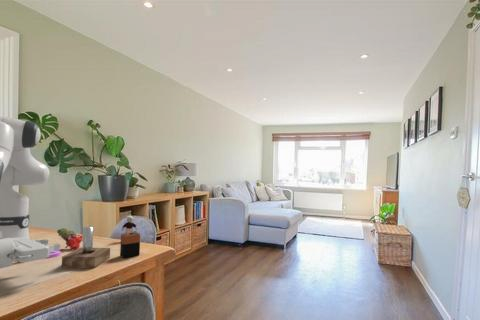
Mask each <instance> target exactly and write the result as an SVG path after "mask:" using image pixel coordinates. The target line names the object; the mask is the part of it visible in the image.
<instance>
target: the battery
mask: <svg viewBox="0 0 480 320" xmlns="http://www.w3.org/2000/svg"><path fill="white" fill-rule="evenodd" d="M140 246H141V233H139V232H138V230H133V231H132V233H128V232H125V231H124V233H121V234H120V249H119V250H120V251H119V252H120V254H119V255H120V257H121V258H123V259H127V258H132V257H138V256H140V251H141V247H140Z"/></svg>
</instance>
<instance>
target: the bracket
mask: <svg viewBox="0 0 480 320" xmlns="http://www.w3.org/2000/svg"><path fill="white" fill-rule="evenodd" d="M61 251H62V250H54V251H52V252H50V253H49V257H48V258H45V259H46V260H47V259H52V258H56V257H59V256H61V255H62V254H61V253H62V252H61ZM45 259H44V260H45Z"/></svg>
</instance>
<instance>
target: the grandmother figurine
mask: <svg viewBox="0 0 480 320" xmlns="http://www.w3.org/2000/svg"><path fill="white" fill-rule="evenodd" d="M133 221H134V217H133V216H132V215H127V216H126V222H125V223H124V224H122V225H123V226H122V227H121V231H124V230H125V231H124V233H125V232H128V233H132V231H134V230H135V231H138V225H136V223H134V222H133ZM133 228H134V230H133Z"/></svg>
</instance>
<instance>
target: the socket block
mask: <svg viewBox="0 0 480 320" xmlns="http://www.w3.org/2000/svg"><path fill="white" fill-rule="evenodd" d="M82 250H83V247H79V248H78V249H74V250H73V251H71V252H69V253H66V254H65V255H64V254H63V256H61V269H62V268H63V269H95V268H97V267H98V266H101V265H102V264H103V263H105V262H106V261H107V260H109V259H110V258H111V247H93V250H92V253H91V254H82Z"/></svg>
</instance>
